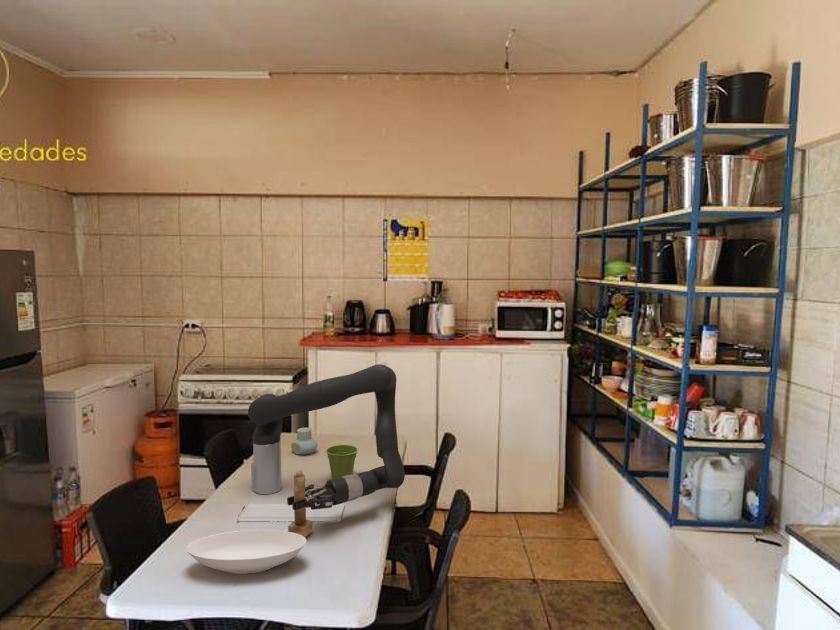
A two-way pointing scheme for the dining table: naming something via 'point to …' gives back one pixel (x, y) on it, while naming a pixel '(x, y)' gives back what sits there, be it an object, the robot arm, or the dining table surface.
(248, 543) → the bowl
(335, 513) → the baseboard molding
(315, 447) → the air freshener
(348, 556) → the dining table surface
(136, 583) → the dining table surface
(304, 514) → the brown peg on stand
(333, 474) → the plant pot
